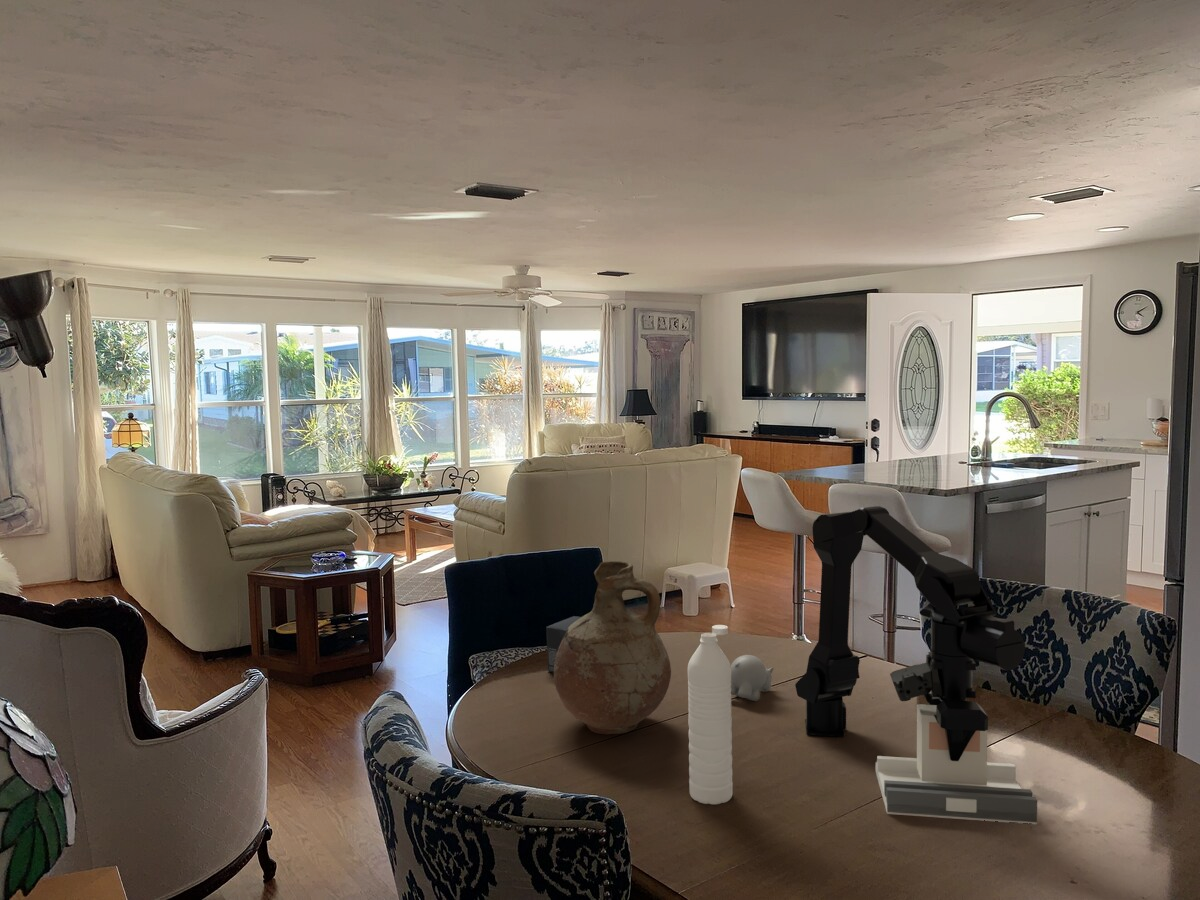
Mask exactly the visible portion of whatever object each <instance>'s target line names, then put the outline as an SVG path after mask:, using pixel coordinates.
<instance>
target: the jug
mask: <svg viewBox="0 0 1200 900" xmlns="http://www.w3.org/2000/svg"><path fill="white" fill-rule="evenodd" d="M593 573H594V577H595V581H596V583H597V588H596V592H595V594H594V603H593V607H592V609H591V611H590V612H587V613H586V614H584V615H582V616H580V617H581V618H580V619H578V620H577V621H575V622H574V623H573V624H571V625H570V626H569V627H568V628H567V631H566V634H565V636H564V638H563V640H562V642H561V644H560V646H559V649H558V652H557V655H556V659H555V664H554V673H553V679H554V680H553V681H554V687H555V690H556V692H557V694H558V696H559V698H560V701H561V702H562V704H563V705H564V707H565V708H566V710H567V711H568V712H569V713H570V715H572V716H573V717H574V718H575V719H576V720H579V721H580V722H581V723H583V724H585V725H586V727H587V728H588V729H589V731H591V732H594V733H595V734H599V735H600V734H601V735H623V734H626V733H629V732H632V731H634V730H635V729H636V728H637V727H638V725H639V723H640V722H643V720H645V719H646V718H648V717H650V716H651V715H652V714H653V712H655V711H656V710H657V709H658V707H659V706H660V705H661V703H662V701H664V698H665V697H666V694H667V692H668V689H669V687H670V683H671V676H672V668H671V661H670V658H669V654H668V651H667V648H666V647H665V644H664V643H663V639H662V638H661V636H660V634H659V633H658V632H657V629H656V627H655V626H656V623H657V620H658V618H659V614H660V610H661V609H660V608H661V597H660V594H659V590H658V589H657V588H656V587H655V585H653V584H652V582H650V581H649V580H647V579H644V578H636V577H635V576H634V566H633V564H632V563H631V562H628V561H623V560H610V561H609V560H607V561H601V562H600V563H599V565H598V567H597V568H596V569H595V570H594V572H593ZM631 590H632V591H640V592H642V593H643V594H645V596H646V599H647V604H646V605H647V606H646V609H645V611H644V612H643V613H642V614H640V615H639V614H637V613H635V612H633V611H632V610H629V609H628V608H627V607H626V605H625V603H624V598H623V593H624V592H625V591H631Z"/></svg>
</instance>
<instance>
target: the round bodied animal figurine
mask: <svg viewBox="0 0 1200 900" xmlns="http://www.w3.org/2000/svg"><path fill="white" fill-rule="evenodd" d="M730 665H731V696H736V697H739V698H744V699H747V700H749V701H752V702H758V701H759V700H760V694H761V693H760V691H761V692H763V693H766V692H769V691H770V690H771V688H772V683H773V682H772V681H773V671H774V667H773V666H771V667H770V668H767V667H766V666H765V664H764V663H763V662H762V660H761V659H760V658H759V657H757V656H755V655H751V654H743V655H740V656H738V657H736V658H735V659H734V660H733V661H732V663H731V664H730Z"/></svg>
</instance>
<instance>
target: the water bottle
mask: <svg viewBox="0 0 1200 900" xmlns="http://www.w3.org/2000/svg"><path fill="white" fill-rule="evenodd" d="M724 635H729V627H728V626H727V625H724V624H715V625H712V626H711V632H704V633H703V632H702V633H701V636H700V639H699V641H700V644H699V646H698V647H697V648H696V650H695V652H694V653H693V654H692V656H691V657H690V659H689V661H688V664H687V680H688V681H687V686H688V687H687V691H688V693H687V696H688V699H687V700H688V702H687V706H688V710H687V711H688V714H687V715H688V717H687V718H688V719H687V720H688V721H687V722H688V728H689V729H688V740H689V742H688V751H689V754H688V763H689V766H688V775H689V779H688V783H689V784H688V785H689V795H690V797H691V799H693V800H694V801H697V802H698V803H700V804H704V805H708V804H709V805H720V804H725V803H727V802H728V801H730V800H731V799H732V797H733V785H734V784H733V766H732V765H733V755H732V752H733V744H732V740H733V733H732V732H733V731H732V727H733V721H732V720H733V719H732V695H731V665H732V664H731V663H730V660H729V659H728V657H727V656H726V654H725V653H724V651H723V650H722V649H721V647H720V646H719V644H718V641H719V640H718V638H717V637H718V636H724Z"/></svg>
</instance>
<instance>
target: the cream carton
mask: <svg viewBox="0 0 1200 900" xmlns="http://www.w3.org/2000/svg"><path fill="white" fill-rule="evenodd" d="M936 706H937V705H930V704H923V703H922V704H917V703H916V758H917V770H918V772H919V775H920V778H921V780H922V781H928V782H943V783H959V784H974V785H987V762H988V730H986V731H976V732H975V733H974V735H973V736H972V738H971V740H970V741H969V743H968V745H967V747H966V748H965V750H964V752H963V754H962V756H961V757H960V759H959V761H951V760H950V756H949V750H948V745H947V739H946V733H945V729H944V728H941V727H940V725H939V724H938V722H937V721H936V719H935V717H934V715H936Z"/></svg>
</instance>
